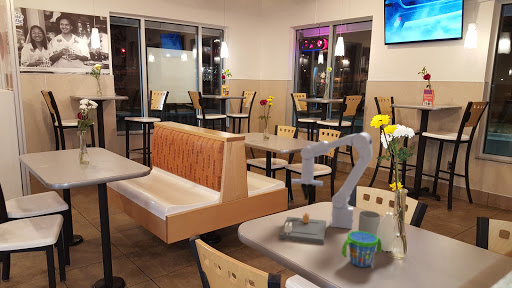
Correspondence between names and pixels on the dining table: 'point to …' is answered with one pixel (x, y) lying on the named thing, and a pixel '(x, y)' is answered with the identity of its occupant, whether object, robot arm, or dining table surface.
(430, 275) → the dining table surface
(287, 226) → the block
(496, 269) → the dining table surface
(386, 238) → the sauce bottle
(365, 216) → the cup
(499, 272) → the dining table surface
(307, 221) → the block
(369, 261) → the snack cup
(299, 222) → the console
